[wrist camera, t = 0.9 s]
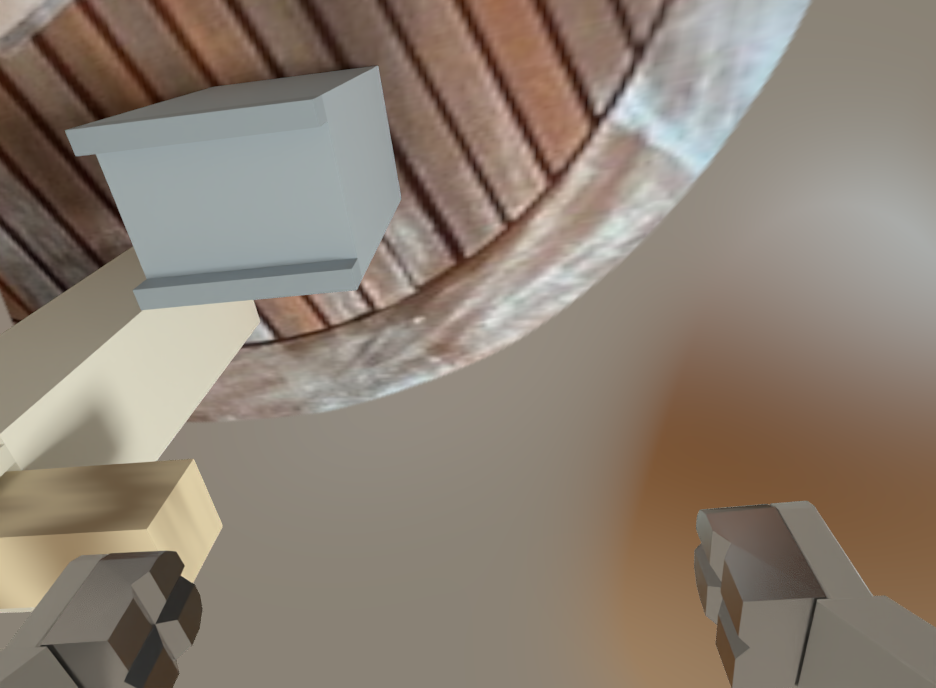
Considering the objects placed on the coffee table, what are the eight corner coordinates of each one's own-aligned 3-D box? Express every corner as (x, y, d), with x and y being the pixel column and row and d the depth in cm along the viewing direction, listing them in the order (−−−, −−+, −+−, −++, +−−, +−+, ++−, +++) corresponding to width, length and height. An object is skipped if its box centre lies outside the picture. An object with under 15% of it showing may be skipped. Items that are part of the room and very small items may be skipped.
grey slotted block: (251, 214, 48) (141, 310, 33) (213, 86, 43) (64, 130, 28) (401, 198, 46) (356, 289, 32) (378, 65, 42) (313, 99, 27)
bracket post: (172, 329, 53) (-123, 625, 28) (138, 243, 49) (-242, 495, 24) (260, 321, 52) (39, 618, 27) (231, 233, 48) (-58, 483, 23)
